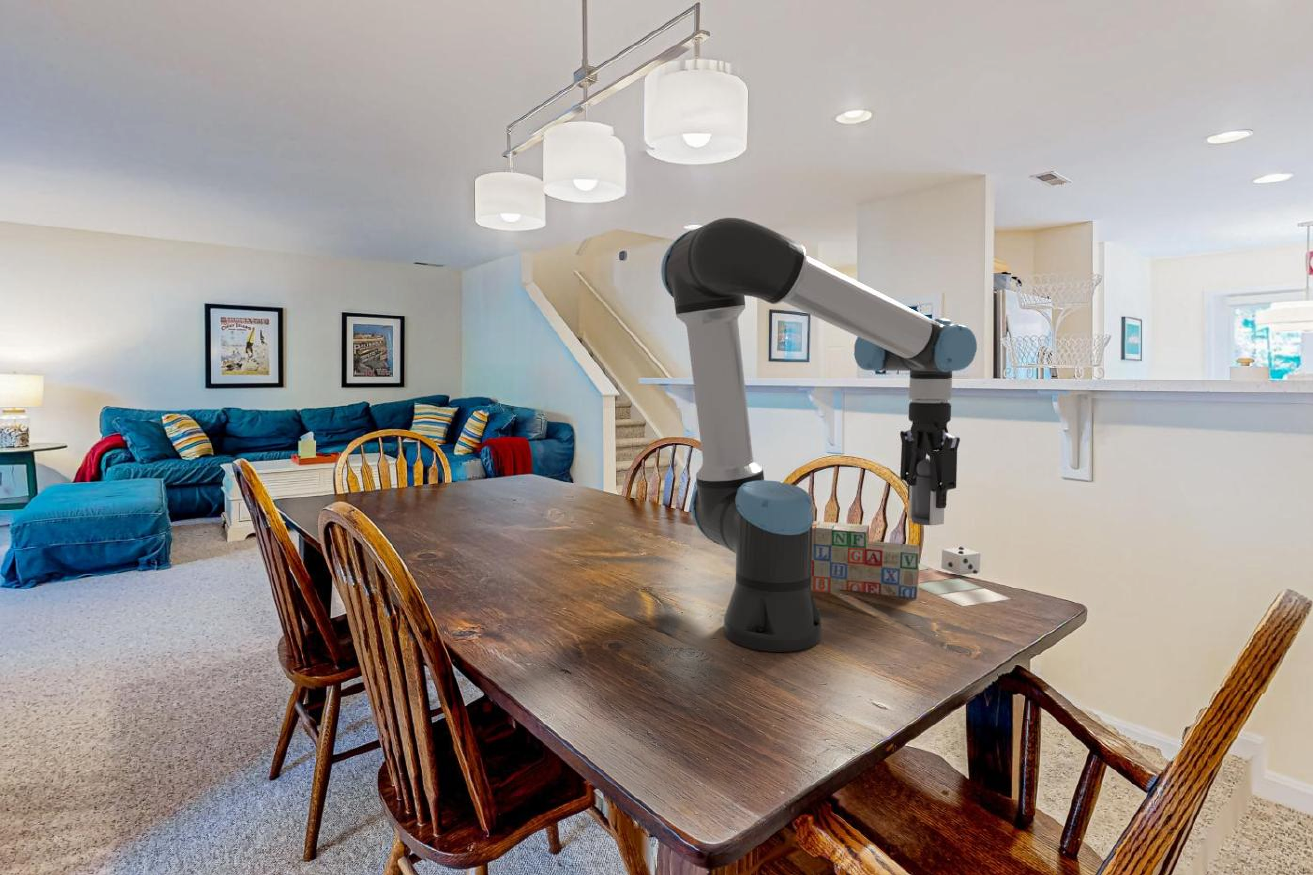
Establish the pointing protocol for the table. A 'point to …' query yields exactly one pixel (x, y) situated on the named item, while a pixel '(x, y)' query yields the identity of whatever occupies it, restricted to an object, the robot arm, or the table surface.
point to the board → (955, 588)
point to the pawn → (923, 493)
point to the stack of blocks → (861, 562)
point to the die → (960, 561)
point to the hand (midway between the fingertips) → (925, 520)
